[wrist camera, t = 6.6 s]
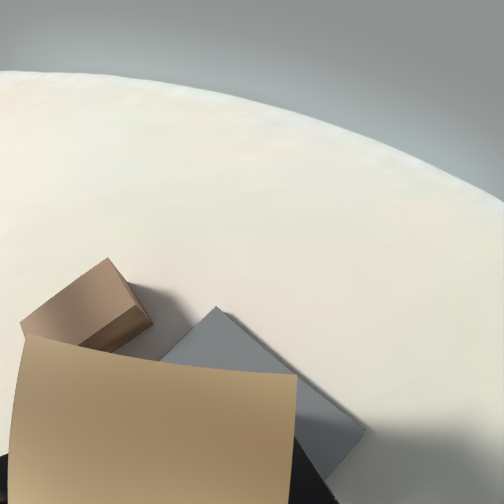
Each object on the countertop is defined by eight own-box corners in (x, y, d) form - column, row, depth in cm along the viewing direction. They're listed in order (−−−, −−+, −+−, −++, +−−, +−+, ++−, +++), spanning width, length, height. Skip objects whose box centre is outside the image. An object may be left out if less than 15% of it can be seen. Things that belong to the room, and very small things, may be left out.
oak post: (259, 491, 12) (270, 628, 2) (168, 479, 13) (12, 552, 2) (266, 407, 15) (297, 374, 4) (177, 398, 15) (27, 333, 4)
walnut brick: (127, 282, 20) (107, 257, 17) (154, 324, 19) (135, 304, 16) (49, 339, 18) (19, 322, 15) (70, 383, 17) (38, 373, 14)
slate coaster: (361, 430, 15) (366, 430, 14) (227, 560, 11) (226, 565, 11) (217, 310, 19) (216, 305, 18) (90, 431, 15) (84, 431, 14)
